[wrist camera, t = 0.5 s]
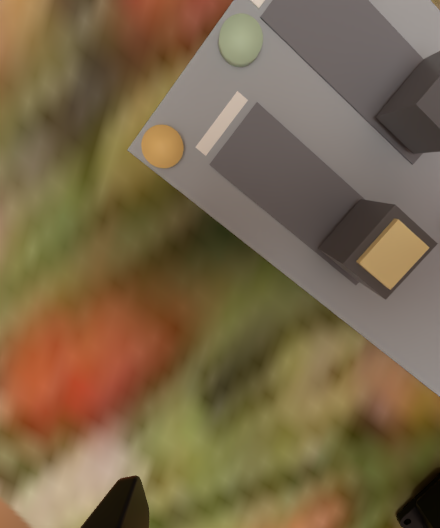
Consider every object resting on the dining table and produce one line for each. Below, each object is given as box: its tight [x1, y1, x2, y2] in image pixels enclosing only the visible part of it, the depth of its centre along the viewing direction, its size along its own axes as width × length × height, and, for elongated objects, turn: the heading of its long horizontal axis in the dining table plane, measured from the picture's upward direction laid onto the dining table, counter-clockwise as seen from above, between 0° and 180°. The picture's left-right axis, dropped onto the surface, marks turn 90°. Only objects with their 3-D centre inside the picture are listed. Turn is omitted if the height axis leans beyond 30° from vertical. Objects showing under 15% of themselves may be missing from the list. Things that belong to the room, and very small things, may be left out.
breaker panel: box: [127, 0, 440, 397], centre depth 17 cm, size 22×13×2 cm, turn 51°
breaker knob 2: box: [318, 199, 438, 300], centre depth 16 cm, size 2×3×3 cm
